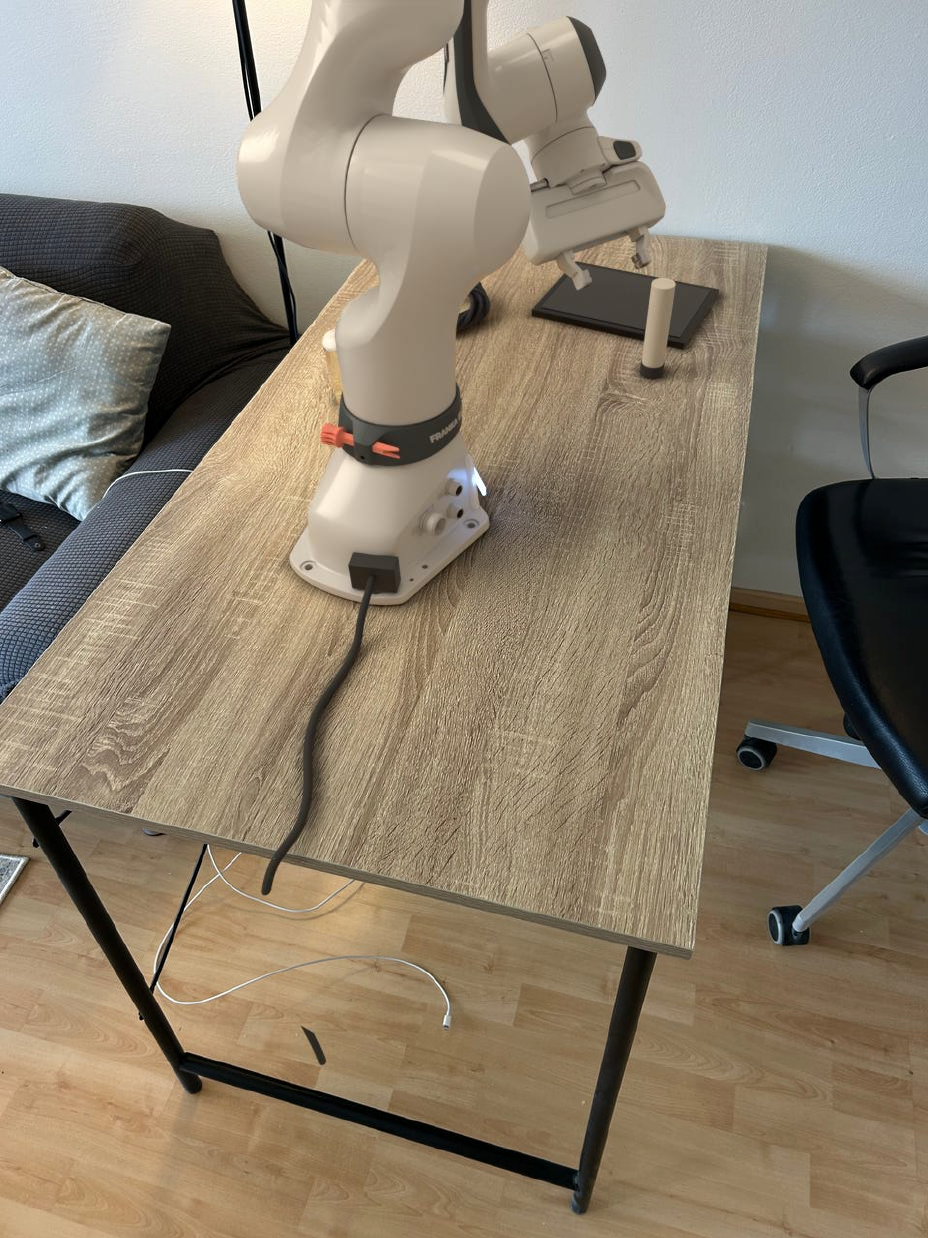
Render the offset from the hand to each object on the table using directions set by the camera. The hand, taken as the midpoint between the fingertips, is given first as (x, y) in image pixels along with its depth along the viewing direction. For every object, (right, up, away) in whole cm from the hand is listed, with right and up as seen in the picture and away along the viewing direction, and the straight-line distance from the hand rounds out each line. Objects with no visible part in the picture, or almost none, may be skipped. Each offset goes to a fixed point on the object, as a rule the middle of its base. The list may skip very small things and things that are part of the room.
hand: (615, 276), depth 113 cm
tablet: (+4, +1, +14) cm, 14 cm away
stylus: (+5, -12, +2) cm, 13 cm away
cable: (-24, -1, +13) cm, 27 cm away
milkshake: (-33, -16, 0) cm, 37 cm away
